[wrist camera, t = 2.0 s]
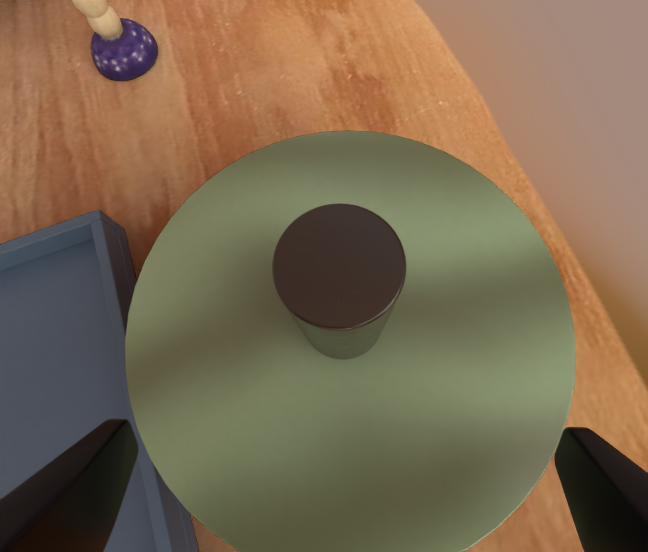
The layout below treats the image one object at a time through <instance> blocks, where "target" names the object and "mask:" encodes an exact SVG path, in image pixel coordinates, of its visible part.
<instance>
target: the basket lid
mask: <svg viewBox="0 0 648 552" xmlns="http://www.w3.org/2000/svg"><path fill="white" fill-rule="evenodd" d="M575 366H576V348H575V335H574V324H573V319H572V315H571V310H570V305H569V301H568V296H567V293H566V290H565V288H564V285H563V282H562V279H561V276H560V273H559V271H558V268H557V266H556V264H555V262H554V260H553V258H552V256H551V254H550V252H549V250H548V248H547V246H546V244H545V242H544V241H543V239H542V238H541V237H540V235H539V234H538V232H537V231H536V229H535V228H534V226H533V225H532V223H531V222H530V220H529V219H528V218H527V217H526V215H525V214H524V213H523V212H522V211H521V210H520V209H519V207H518V206H517V205H516V204H515V203H514V202H513V201H512V199H511V198H510V197H508V196H507V195H506V194H505V193H504V192H503V191H502V190H501V189H500V188H499V187H497V186H496V185H495V184H494V183H493V182H492V181H491V180H489V179H488V178H487V177H485V176H484V175H482V174H481V173H480V172H478V171H477V170H475V169H474V168H472V167H471V166H470V165H468V164H466V163H464V162H463V161H461V160H459V159H457V158H455V157H453V156H452V155H450V154H448V153H446V152H444V151H441V150H439V149H436V148H434V147H431V146H429V145H426V144H424V143H421V142H418V141H414V140H411V139H407V138H404V137H400V136H395V135H389V134H383V133H377V132H367V131H348V130H347V131H331V132H320V133H314V134H308V135H302V136H297V137H294V138H290V139H287V140H283V141H280V142H276V143H273V144H271V145H269V146H266V147H264V148H261V149H259V150H256V151H254V152H252V153H250V154H248V155H246V156H244V157H242V158H241V159H239V160H237V161H235V162H233V163H232V164H230V165H228V166H227V167H225V168H224V169H223V170H221V171H220V172H218V173H217V174H216V175H214V176H213V177H211V178H210V179H209V180H207V181H206V182H205V183H204V184H203V185H202V186H201V187H200V188H199V189H197V190H196V191H195V192H194V193H193V194H192V195H191V196H190V197H189V198H188V199H187V200H186V201H185V202H184V203H183V205H182V206H181V207H180V208H179V209H178V210H177V211H176V212H175V214H174V215H173V216H172V217H171V219H170V220H169V222H168V223H167V225H166V226H165V227H164V229H163V230H162V232H161V233H160V235H159V236H158V237H157V239H156V241H155V243H154V245H153V247H152V249H151V251H150V253H149V254H148V256H147V258H146V260H145V262H144V265H143V267H142V270H141V273H140V275H139V278H138V280H137V283H136V286H135V289H134V293H133V297H132V301H131V305H130V309H129V313H128V322H127V330H126V338H125V372H126V379H127V386H128V393H129V400H130V404H131V407H132V411H133V415H134V418H135V422H136V425H137V429H138V431H139V434H140V436H141V438H142V441H143V443H144V445H145V448H146V450H147V452H148V455H149V457H150V459H151V460H152V462H153V464H154V465H155V467H156V469H157V470H158V472H159V474H160V475H161V477H162V479H163V480H164V482H165V484H166V485H167V486H168V488H169V489H170V490H171V491H172V492H173V494H174V495H175V496H176V497H177V499H178V500H179V501H180V502H181V504H182V505H183V506H184V507H185V508H186V510H187V511H189V512H190V513H191V514H192V515H193V516H194V517H195V518H196V519H197V520H198V521H199V522H200V523H202V524H203V525H204V526H205V527H206V528H207V529H208V530H209V531H210V532H211V533H213V534H214V535H216V536H217V537H219V538H220V539H222V540H223V541H225V542H226V543H228V544H229V545H231V546H232V547H233V548H235V549H236V550H238V551H240V552H464V551H466V550H468V549H469V548H471V547H472V546H474V545H475V544H476V543H478V542H479V541H481V540H482V539H483V538H485V537H486V536H487V535H489V534H490V533H492V532H493V531H494V530H496V529H497V528H498V527H499V526H500V525H501V524H502V523H503V522H504V521H505V520H506V519H507V518H508V517H509V516H510V515H511V514H512V513H513V512H514V511H515V510H516V509H517V508H518V507H519V506H520V505H521V504H522V503H523V502H524V500H525V499H526V498H527V496H528V495H529V494H530V492H531V491H532V490H533V488H534V487H535V486H536V484H537V483H538V482H539V480H540V479H541V477H542V475H543V474H544V472H545V470H546V468H547V466H548V464H549V462H550V461H551V459H552V457H553V455H554V453H555V451H556V449H557V446H558V443H559V441H560V438H561V435H562V432H563V430H564V427H565V425H566V422H567V419H568V415H569V410H570V405H571V400H572V395H573V390H574V382H575Z"/></svg>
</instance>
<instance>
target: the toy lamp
mask: <svg viewBox="0 0 648 552" xmlns="http://www.w3.org/2000/svg"><path fill="white" fill-rule="evenodd" d="M72 2H73V3H74V5H75V6H76V7H77V8H78V9H79V10H80V11H81V12H82V13H83V14H85V15H86V18H87V21H88V23H89V24H90V26H91V27H92V29H93V30H94V31H95V33H94V35H93V37H92V41H91V54H92V57H93V61H94V63H95V65H96V67H97V69H98V70H99V72H100V73H101V74H102V75H103V76H105V77H107V78H109V79H111V80H116V81H124V80H126V81H127V80H131V79H133V78H136V77H138V76H140V75H142V74H144V73H145V72H146V71H147V70H149V69H150V68H151V66H152V65H153V64H154V62H155V60H156V58H157V54H158V47H157V43H156V41H155V39H154V37H153V36H152V35H151V33H150V32H149V31H148V30H147V29H146V28H145V27H143V26H142V25H140V24H139V23H137V22H135V21H132V20H129V19H124V18H119V16H118V15H117V13H116V12H115V10H114V9H113V8H112V7H111V6H110V5H108V4H107V1H106V0H72Z"/></svg>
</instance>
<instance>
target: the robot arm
mask: <svg viewBox="0 0 648 552" xmlns="http://www.w3.org/2000/svg"><path fill="white" fill-rule="evenodd" d="M138 452H139V446H138V442H137V439H136V437H135V434H134V431H133V428H132V426H131V423H130V421H128V420H127V419H108V420H106V421H104V422H103V423H102V424H100V425H99V426H98V427H96V428H95V429H94V430H92V431H91V432H90V433H88V434H87V435H86V436H84V437H83V438H82V439H80V440H79V441H78V442H76V443H75V444H74V445H72V446H71V447H70V448H68V449H67V450H66V451H64V452H63V453H62V454H60V455H59V456H57V457H56V458H55V459H53V460H52V461H51V462H49V463H48V464H47V465H45V466H44V467H43V468H41V469H40V470H39V471H37V472H36V473H35V474H33V475H32V476H31V477H29V478H28V479H27V480H25V481H24V482H23V483H21V484H20V485H19V486H17V487H16V488H15V489H13V490H12V491H11V492H9V493H8V494H7V495H5V496H4V497H3V498H1V499H0V552H104V549H105V547H106V545H107V543H108V540H109V538H110V535H111V533H112V531H113V528H114V525H115V522H116V520H117V517H118V514H119V511H120V508H121V505H122V502H123V499H124V496H125V493H126V490H127V487H128V484H129V481H130V478H131V475H132V472H133V469H134V466H135V463H136V460H137V457H138ZM555 465H556V469H557V472H558V475H559V478H560V481H561V484H562V487H563V490H564V493H565V496H566V499H567V502H568V505H569V508H570V511H571V515H572V518H573V521H574V524H575V527H576V530H577V533H578V536H579V538H580V541H581V544H582V547H583V549H584V552H648V473H647V472H646V471H644V470H643V469H642V468H641V467H639V466H638V465H637V464H635V463H634V462H633V461H631V460H630V459H629V458H627V457H626V456H625V455H624V454H622V453H621V452H620V451H618V450H617V449H616V448H614V447H613V446H612V445H610V444H609V443H608V442H607V441H605V440H604V439H603V438H601V437H600V436H599V435H597V434H596V433H595V432H593V431H592V430H590V429H588V428H585V427H567V428H565V429H564V430H563V432H562V435H561V438H560V441H559V443H558V446H557V449H556V452H555Z"/></svg>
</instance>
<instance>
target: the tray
mask: <svg viewBox="0 0 648 552" xmlns="http://www.w3.org/2000/svg"><path fill="white" fill-rule="evenodd" d="M136 283H137V282H136V277H135V273H134V269H133V265H132V260H131V256H130V252H129V247H128V243H127V239H126V234H125V230H124V228H122V227H121V226H120V225H119V224H117V223H116V222H115V221H114V220H112V219H111V218H110V217H108V216H107V215H106V214H104V213H103V212H102V211H100V210H96V211H93V212H90V213H87V214H84V215H81V216H79V217H76V218H73V219H70V220H67V221H64V222H61V223H59V224H56V225H53V226H50V227H47V228H44V229H42V230H39V231H36V232H33V233H30V234H27V235H24V236H22V237H19V238H16V239H13V240H10V241H7V242H5V243H2V244H0V499H1V498H3V497H4V496H5V495H7V494H8V493H9V492H11V491H12V490H13V489H15V488H16V487H17V486H19V485H20V484H21V483H23V482H24V481H25V480H27V479H28V478H29V477H31V476H32V475H33V474H35V473H36V472H37V471H39V470H40V469H41V468H43V467H44V466H45V465H47V464H48V463H49V462H51V461H52V460H53V459H55V458H56V457H57V456H59V455H60V454H62V453H63V452H64V451H66V450H67V449H68V448H70V447H71V446H72V445H74V444H75V443H76V442H78V441H79V440H80V439H82V438H83V437H84V436H86V435H87V434H88V433H90V432H91V431H92V430H94V429H95V428H96V427H98V426H99V425H100V424H102V423H103V422H104V421H106V420H108V419H127V420H128V421H130V423H131V426H132V428H133V431H134V434H135V437H136V439H137V442H138V446H139V452H138V457H137V460H136V463H135V466H134V469H133V472H132V475H131V478H130V481H129V484H128V487H127V490H126V493H125V496H124V499H123V502H122V505H121V508H120V511H119V514H118V517H117V520H116V522H115V525H114V528H113V531H112V533H111V535H110V538H109V540H108V543H107V545H106V547H105V549H104V552H199V550H198V546H197V542H196V537H195V533H194V529H193V524H192V520H191V516H190V512H189V511H187V510H186V508H185V507H184V506H183V505H182V504H181V502H180V501H179V500H178V499H177V497H176V496H175V495H174V494H173V492H172V491H171V490H170V489H169V488H168V486H167V485H166V484H165V482H164V480H163V479H162V477H161V475H160V474H159V472H158V470H157V469H156V467H155V465H154V464H153V462H152V460H151V459H150V457H149V455H148V452H147V450H146V448H145V445H144V443H143V441H142V438H141V436H140V434H139V431H138V429H137V425H136V422H135V418H134V415H133V411H132V407H131V404H130V400H129V393H128V386H127V379H126V372H125V338H126V330H127V322H128V313H129V309H130V305H131V301H132V297H133V293H134V289H135V286H136Z"/></svg>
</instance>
